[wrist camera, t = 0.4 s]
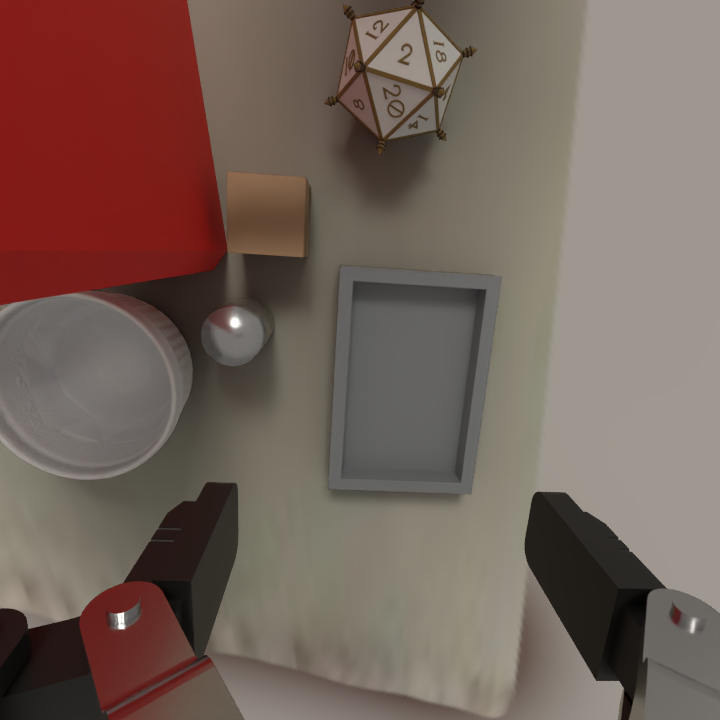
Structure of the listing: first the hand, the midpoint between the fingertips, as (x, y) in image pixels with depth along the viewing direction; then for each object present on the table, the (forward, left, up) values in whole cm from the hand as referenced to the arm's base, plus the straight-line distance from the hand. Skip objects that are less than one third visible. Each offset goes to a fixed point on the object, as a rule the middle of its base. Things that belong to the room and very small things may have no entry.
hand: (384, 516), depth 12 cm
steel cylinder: (-1, -8, -25) cm, 26 cm away
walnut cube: (-9, -6, -25) cm, 27 cm away
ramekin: (+3, -18, -25) cm, 31 cm away
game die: (-18, +2, -25) cm, 31 cm away
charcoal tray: (+3, +5, -25) cm, 26 cm away
